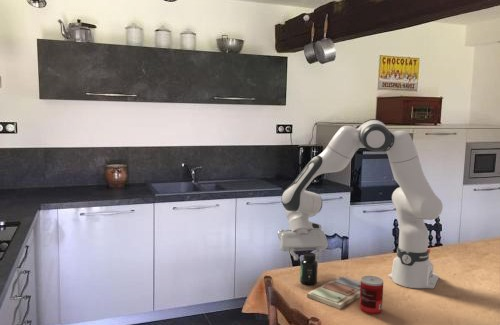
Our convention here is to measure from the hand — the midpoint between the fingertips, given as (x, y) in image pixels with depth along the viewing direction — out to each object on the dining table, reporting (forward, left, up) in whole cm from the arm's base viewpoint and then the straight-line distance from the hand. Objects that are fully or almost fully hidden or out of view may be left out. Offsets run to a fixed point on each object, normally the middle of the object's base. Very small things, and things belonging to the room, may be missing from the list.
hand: (307, 259), depth 176 cm
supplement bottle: (+1, +2, -9) cm, 10 cm away
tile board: (+1, +16, -9) cm, 19 cm away
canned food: (+6, +31, -9) cm, 33 cm away
